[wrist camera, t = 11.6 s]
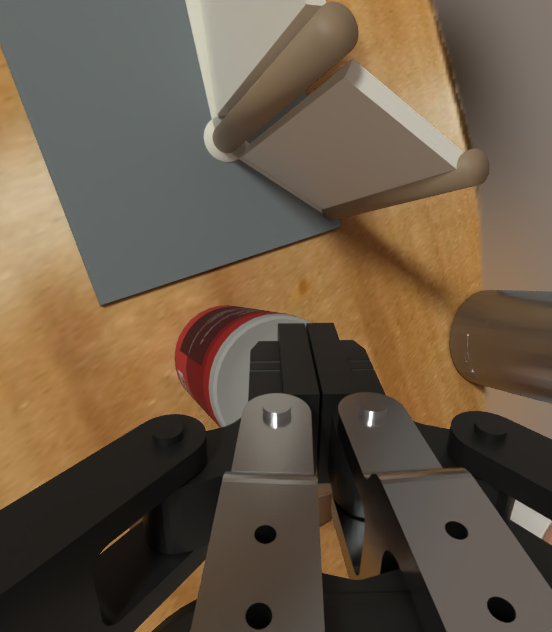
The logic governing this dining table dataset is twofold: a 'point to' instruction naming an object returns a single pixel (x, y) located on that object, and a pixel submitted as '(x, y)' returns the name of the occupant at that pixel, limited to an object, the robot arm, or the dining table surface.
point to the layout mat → (143, 142)
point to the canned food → (223, 356)
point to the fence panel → (248, 41)
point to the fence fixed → (343, 129)
